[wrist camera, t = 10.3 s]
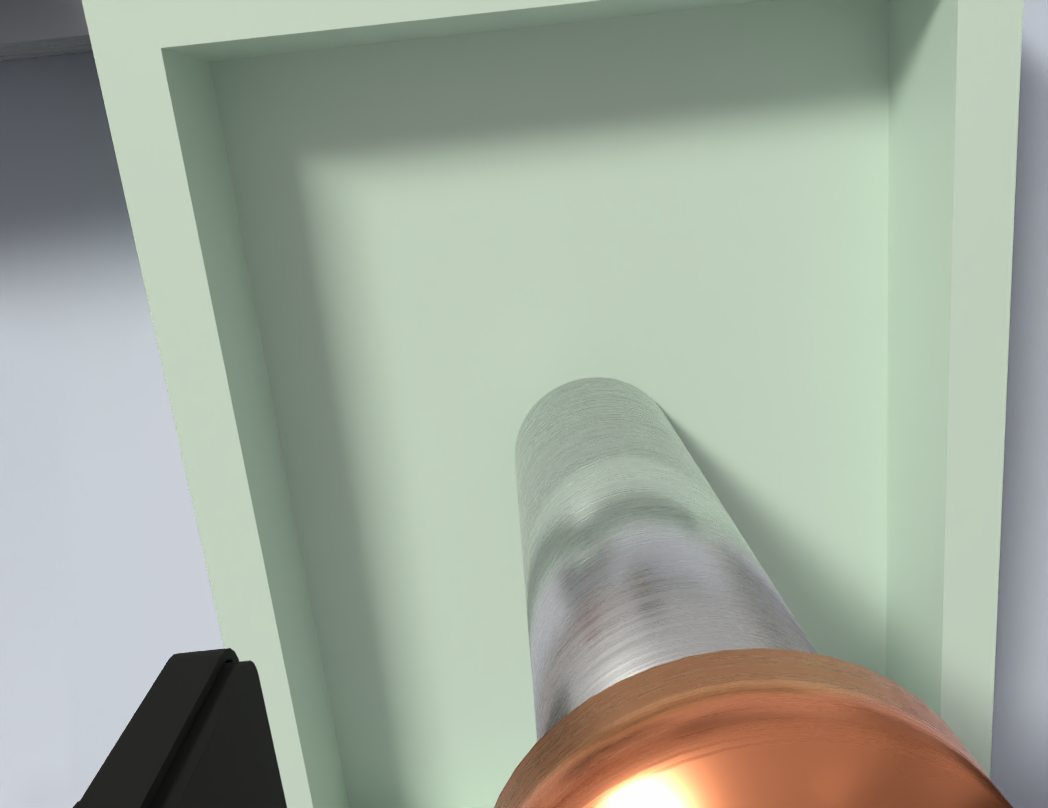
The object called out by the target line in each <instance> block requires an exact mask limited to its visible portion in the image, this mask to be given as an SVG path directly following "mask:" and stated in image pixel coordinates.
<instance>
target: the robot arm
mask: <svg viewBox="0 0 1048 808" xmlns="http://www.w3.org/2000/svg"><path fill="white" fill-rule="evenodd" d="M73 808H287V805H286V800H285V795H284V791H283V786H282V781H281V777H280V772H279V767H278V763H277V758H276V753H275V749H274V744H273V739H272V735H271V730H270V726H269V721H268V716H267V712H266V707H265V702H264V698H263V693H262V688H261V684H260V679H259V675H258V671H257V668H256V666H255V664H254V662H252V661H251V660H249V661H240V662H239V658H238V656H237V655H236V653H235V651H234V650H232V649H231V648H226V649H216V650H207V651H197V652H188V653H178V654H174V655H173V656H172V657H171V658H170V659H169V660H168V662H167V663H166V665H165V666H164V668H163V670H162V671H161V673H160V674H159V676H158V677H157V679H156V681H155V682H154V684H153V685H152V687H151V689H150V690H149V692H148V693H147V695H146V697H145V698H144V700H143V701H142V703H141V705H140V706H139V708H138V709H137V711H136V713H135V714H134V716H133V717H132V719H131V721H130V722H129V724H128V725H127V727H126V728H125V730H124V732H123V733H122V735H121V736H120V738H119V740H118V741H117V743H116V744H115V746H114V748H113V749H112V751H111V752H110V754H109V756H108V757H107V759H106V760H105V762H104V764H103V765H102V767H101V768H100V770H99V772H98V773H97V775H96V776H95V778H94V779H93V781H92V783H91V784H90V786H89V787H88V789H87V791H86V792H85V794H84V795H83V797H82V799H81V800H80V801H79V802H77V803H76V804H75V806H74V807H73Z"/></svg>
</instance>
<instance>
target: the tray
mask: <svg viewBox="0 0 1048 808" xmlns="http://www.w3.org/2000/svg"><path fill="white" fill-rule="evenodd" d="M82 4H83V9H84V13H85V18H86V22H87V27H88V31H89V36H90V40H91V45H92V50H93V54H94V59H95V63H96V68H97V72H98V77H99V81H100V86H101V90H102V95H103V100H104V104H105V109H106V113H107V118H108V122H109V127H110V131H111V136H112V140H113V145H114V149H115V154H116V159H117V163H118V168H119V172H120V177H121V181H122V186H123V190H124V195H125V199H126V204H127V208H128V213H129V218H130V222H131V227H132V231H133V236H134V240H135V245H136V249H137V254H138V258H139V263H140V267H141V272H142V277H143V281H144V286H145V290H146V295H147V299H148V304H149V308H150V313H151V317H152V322H153V327H154V331H155V336H156V340H157V345H158V349H159V354H160V358H161V363H162V367H163V372H164V376H165V381H166V386H167V390H168V395H169V399H170V404H171V408H172V413H173V417H174V422H175V426H176V431H177V435H178V440H179V445H180V449H181V454H182V458H183V463H184V467H185V472H186V476H187V481H188V485H189V490H190V494H191V499H192V504H193V508H194V513H195V517H196V522H197V526H198V531H199V535H200V540H201V544H202V549H203V553H204V558H205V563H206V567H207V572H208V576H209V581H210V585H211V590H212V594H213V599H214V603H215V608H216V613H217V617H218V622H219V626H220V631H221V635H222V640H223V644H224V649H226V648H231V649H232V650H234V651H235V653H236V655H237V656H238V658H239V662H240V661H249V660H251V661H252V662H254V664H255V666H256V668H257V671H258V675H259V679H260V684H261V688H262V693H263V698H264V702H265V707H266V712H267V716H268V721H269V726H270V730H271V735H272V739H273V744H274V749H275V753H276V758H277V763H278V767H279V772H280V777H281V781H282V786H283V791H284V795H285V800H286V805H287V808H494V807H495V804H496V802H497V799H498V797H499V795H500V793H501V791H502V790H503V788H504V787H505V785H506V783H507V782H508V780H509V778H510V777H511V775H512V773H513V772H514V770H515V768H516V767H517V766H518V765H519V763H520V762H521V761H522V760H523V758H524V757H525V756H526V755H527V753H528V752H529V751H530V750H531V748H532V747H533V746H534V745H535V743H536V742H537V734H536V722H535V709H534V696H533V684H532V671H531V659H530V646H529V633H528V621H527V608H526V595H525V583H524V570H523V557H522V545H521V532H520V520H519V507H518V494H517V482H516V469H515V445H516V440H517V436H518V433H519V430H520V427H521V425H522V423H523V421H524V419H525V417H526V416H527V414H528V413H529V411H530V410H531V409H532V407H533V406H534V405H535V404H536V403H537V402H538V401H539V400H540V399H541V398H542V397H544V396H545V395H546V394H547V393H549V392H550V391H552V390H554V389H555V388H557V387H559V386H561V385H563V384H566V383H568V382H571V381H575V380H578V379H584V378H594V377H601V378H611V379H616V380H620V381H623V382H626V383H629V384H631V385H633V386H635V387H637V388H639V389H640V390H642V391H643V392H645V393H646V394H647V395H648V396H650V397H651V398H652V399H653V400H654V401H655V402H656V403H657V405H658V406H659V407H660V408H661V410H662V411H663V413H664V414H665V416H666V417H667V419H668V420H669V422H670V424H671V425H672V427H673V428H674V430H675V431H676V433H677V435H678V436H679V438H680V439H681V441H682V442H683V444H684V446H685V447H686V449H687V450H688V452H689V453H690V455H691V456H692V458H693V460H694V461H695V463H696V464H697V466H698V467H699V469H700V471H701V472H702V474H703V475H704V477H705V478H706V480H707V482H708V483H709V485H710V486H711V488H712V489H713V491H714V492H715V494H716V496H717V497H718V499H719V500H720V502H721V503H722V505H723V507H724V508H725V510H726V511H727V513H728V514H729V516H730V517H731V519H732V521H733V522H734V524H735V525H736V527H737V528H738V530H739V532H740V533H741V535H742V536H743V538H744V539H745V541H746V543H747V544H748V546H749V547H750V549H751V550H752V552H753V553H754V555H755V557H756V558H757V560H758V561H759V563H760V564H761V566H762V568H763V569H764V571H765V572H766V574H767V575H768V577H769V579H770V580H771V582H772V583H773V585H774V586H775V588H776V589H777V591H778V593H779V594H780V596H781V597H782V599H783V600H784V602H785V604H786V605H787V607H788V608H789V610H790V611H791V613H792V615H793V616H794V618H795V619H796V621H797V622H798V624H799V625H800V627H801V629H802V630H803V632H804V633H805V635H806V636H807V638H808V640H809V641H810V643H811V644H812V646H813V647H814V649H815V651H816V652H817V654H819V655H824V656H829V657H833V658H836V659H840V660H843V661H846V662H849V663H852V664H855V665H858V666H861V667H864V668H866V669H868V670H871V671H873V672H875V673H877V674H879V675H881V676H883V677H885V678H887V679H889V680H892V681H894V682H895V683H897V684H898V685H900V686H901V687H903V688H904V689H906V690H907V691H909V692H910V693H912V694H913V695H915V696H916V697H918V698H919V699H921V700H922V701H923V702H924V703H925V704H926V705H927V706H928V707H930V708H931V709H932V710H933V711H934V712H935V713H936V714H937V715H938V716H940V717H941V718H942V719H943V720H944V721H945V723H946V724H947V725H948V726H949V728H950V729H951V730H952V731H953V732H954V734H955V735H956V736H957V737H958V739H959V740H960V741H961V742H962V743H963V745H964V746H965V747H966V749H967V750H968V751H969V752H970V754H971V755H972V756H973V757H974V759H975V760H976V761H977V763H978V764H979V765H980V766H981V768H982V769H983V770H984V772H985V773H986V774H987V775H988V777H989V778H990V769H991V745H992V722H993V699H994V675H995V652H996V629H997V605H998V582H999V559H1000V535H1001V512H1002V489H1003V465H1004V442H1005V418H1006V395H1007V372H1008V348H1009V325H1010V302H1011V278H1012V255H1013V232H1014V208H1015V185H1016V162H1017V138H1018V115H1019V91H1020V68H1021V45H1022V21H1023V0H82Z"/></svg>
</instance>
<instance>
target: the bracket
mask: <svg viewBox="0 0 1048 808" xmlns="http://www.w3.org/2000/svg"><path fill="white" fill-rule="evenodd" d="M87 51H93V50H92V45H91V40H90V36H89V31H88V27H87V22H86V18H85V13H84V9H83V4H82V0H0V61H4V60H14V59H23V58H32V57H41V56H51V55H60V54H69V53H78V52H87Z"/></svg>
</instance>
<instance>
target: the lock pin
mask: <svg viewBox="0 0 1048 808" xmlns="http://www.w3.org/2000/svg"><path fill="white" fill-rule="evenodd" d="M515 469H516V482H517V494H518V507H519V520H520V532H521V545H522V557H523V570H524V583H525V595H526V608H527V621H528V633H529V646H530V659H531V671H532V684H533V696H534V709H535V722H536V734H537V742H536V743H535V745H534V746H533V747H532V748H531V750H530V751H529V752H528V753H527V755H526V756H525V757H524V758H523V760H522V761H521V762H520V763H519V765H518V766H517V767H516V768H515V770H514V772H513V773H512V775H511V777H510V778H509V780H508V782H507V783H506V785H505V787H504V788H503V790H502V791H501V793H500V795H499V797H498V799H497V802H496V804H495V807H494V808H1013V807H1012V806H1011V805H1010V803H1009V802H1008V801H1007V800H1006V798H1005V797H1004V796H1003V794H1002V793H1001V792H1000V791H999V789H998V788H997V787H996V786H995V784H994V783H993V782H992V780H991V779H990V778H989V777H988V775H987V774H986V773H985V772H984V770H983V769H982V768H981V766H980V765H979V764H978V763H977V761H976V760H975V759H974V757H973V756H972V755H971V754H970V752H969V751H968V750H967V749H966V747H965V746H964V745H963V743H962V742H961V741H960V740H959V739H958V737H957V736H956V735H955V734H954V732H953V731H952V730H951V729H950V728H949V726H948V725H947V724H946V723H945V721H944V720H943V719H942V718H941V717H940V716H938V715H937V714H936V713H935V712H934V711H933V710H932V709H931V708H930V707H928V706H927V705H926V704H925V703H924V702H923V701H922V700H921V699H919V698H918V697H916V696H915V695H913V694H912V693H910V692H909V691H907V690H906V689H904V688H903V687H901V686H900V685H898V684H897V683H895V682H894V681H892V680H889V679H887V678H885V677H883V676H881V675H879V674H877V673H875V672H873V671H871V670H868V669H866V668H864V667H861V666H858V665H855V664H852V663H849V662H846V661H843V660H840V659H836V658H833V657H829V656H824V655H819V654H817V652H816V651H815V649H814V647H813V646H812V644H811V643H810V641H809V640H808V638H807V636H806V635H805V633H804V632H803V630H802V629H801V627H800V625H799V624H798V622H797V621H796V619H795V618H794V616H793V615H792V613H791V611H790V610H789V608H788V607H787V605H786V604H785V602H784V600H783V599H782V597H781V596H780V594H779V593H778V591H777V589H776V588H775V586H774V585H773V583H772V582H771V580H770V579H769V577H768V575H767V574H766V572H765V571H764V569H763V568H762V566H761V564H760V563H759V561H758V560H757V558H756V557H755V555H754V553H753V552H752V550H751V549H750V547H749V546H748V544H747V543H746V541H745V539H744V538H743V536H742V535H741V533H740V532H739V530H738V528H737V527H736V525H735V524H734V522H733V521H732V519H731V517H730V516H729V514H728V513H727V511H726V510H725V508H724V507H723V505H722V503H721V502H720V500H719V499H718V497H717V496H716V494H715V492H714V491H713V489H712V488H711V486H710V485H709V483H708V482H707V480H706V478H705V477H704V475H703V474H702V472H701V471H700V469H699V467H698V466H697V464H696V463H695V461H694V460H693V458H692V456H691V455H690V453H689V452H688V450H687V449H686V447H685V446H684V444H683V442H682V441H681V439H680V438H679V436H678V435H677V433H676V431H675V430H674V428H673V427H672V425H671V424H670V422H669V420H668V419H667V417H666V416H665V414H664V413H663V411H662V410H661V408H660V407H659V406H658V405H657V403H656V402H655V401H654V400H653V399H652V398H651V397H650V396H648V395H647V394H646V393H645V392H643V391H642V390H640V389H639V388H637V387H635V386H633V385H631V384H629V383H626V382H623V381H620V380H616V379H611V378H601V377H594V378H584V379H578V380H575V381H571V382H568V383H566V384H563V385H561V386H559V387H557V388H555V389H554V390H552V391H550V392H549V393H547V394H546V395H545V396H544V397H542V398H541V399H540V400H539V401H538V402H537V403H536V404H535V405H534V406H533V407H532V409H531V410H530V411H529V413H528V414H527V416H526V417H525V419H524V421H523V423H522V425H521V427H520V430H519V433H518V436H517V440H516V445H515Z"/></svg>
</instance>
